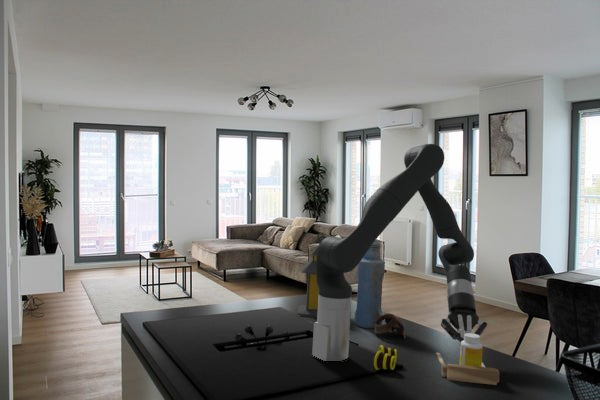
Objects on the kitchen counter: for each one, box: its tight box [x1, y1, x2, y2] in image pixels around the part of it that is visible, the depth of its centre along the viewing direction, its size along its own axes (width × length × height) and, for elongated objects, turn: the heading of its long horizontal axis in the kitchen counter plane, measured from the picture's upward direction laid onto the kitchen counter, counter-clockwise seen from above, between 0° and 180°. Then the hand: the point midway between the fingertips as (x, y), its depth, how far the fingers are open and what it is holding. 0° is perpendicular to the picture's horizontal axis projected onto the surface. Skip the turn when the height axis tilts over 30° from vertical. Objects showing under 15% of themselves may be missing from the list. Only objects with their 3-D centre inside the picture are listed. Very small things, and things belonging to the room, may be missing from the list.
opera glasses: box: [373, 344, 398, 371], centre depth 136 cm, size 10×5×5 cm, turn 164°
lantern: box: [297, 232, 325, 318], centre depth 193 cm, size 14×14×30 cm
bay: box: [435, 352, 501, 386], centre depth 139 cm, size 22×14×4 cm, turn 172°
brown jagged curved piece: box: [374, 313, 406, 340], centre depth 167 cm, size 12×10×8 cm
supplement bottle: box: [458, 332, 484, 367], centre depth 134 cm, size 6×6×10 cm
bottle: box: [354, 239, 386, 329], centre depth 178 cm, size 10×10×30 cm
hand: (466, 353), depth 138 cm, fingers closed
